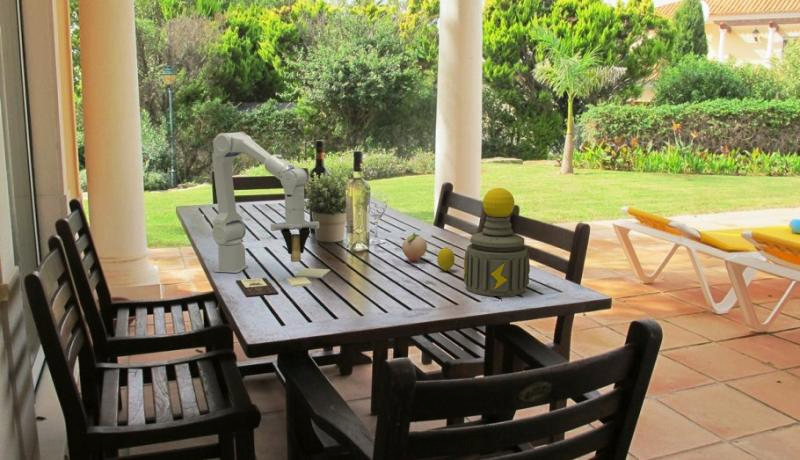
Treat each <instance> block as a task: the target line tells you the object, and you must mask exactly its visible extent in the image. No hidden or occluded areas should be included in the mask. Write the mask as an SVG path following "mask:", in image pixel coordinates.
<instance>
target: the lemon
mask: <svg viewBox="0 0 800 460" xmlns="http://www.w3.org/2000/svg"><path fill="white" fill-rule="evenodd" d="M436 260H437V265H438V266H439V268H440V269H442V270H443V271H444V272H448V270H450V269H451V268H452V267H453V266H454V265H455V253H454V252H453V250H452V249H451V248H450V247H447V246H445V247H444V248H441V249H440V250H439V252H438V253H437V259H436Z"/></svg>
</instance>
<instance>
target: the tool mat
mask: <svg viewBox="0 0 800 460" xmlns="http://www.w3.org/2000/svg"><path fill="white" fill-rule="evenodd" d="M329 272H331V269H329V268H328V269H327V268H309V267H308V268H307V267H306V268H305V267H303V268H301V269H300V270H299V271H298V272H296V273H295V274H294V275H293V278H297V277H306V278H308V279H309V278H311V279H313V278H314V279H323V278H324V277H325V276H326V275H327V274H328V273H329Z"/></svg>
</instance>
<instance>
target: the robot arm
mask: <svg viewBox="0 0 800 460" xmlns="http://www.w3.org/2000/svg"><path fill="white" fill-rule="evenodd" d="M212 145H213V146H212V147H213V153H212V157H211V158H212V167H213V173H214V174H213V177H214V185H215V191H216V192H215V193H216V202H217V203H216V204H217V208H218V209H217V210H218V211H217V212H218V214H217V215H216V216H215V217H214V220H213V222H212V223H213V225H212V226H213V227H212V230H211V231H212V232H211V235H212V238H213V240H214V241H215V243H216V245H217V250H218V251H217V254H218V267H217V268H215V269H214V270H213V272H214V273H231V274H232V273H233V274H238V273H241V271H243V270H245V269H246V268H249V265H248V264H246V247H245V245H244V244H243V238H245V236H246V233H247V229H246V226H245V224H244V221H243V217H242V215H240V214H239V213H238V212H237V207H236V205H237V204H236V197H235V188H234V180H233V179H234V178H233V170H232V162H233V161H234V160H235V159H236V158H237V156H239V155H241V154H243V153H246V154H248V156H251V158H254V159H255V160H257V161H259V162H260V163H261V164H263V165H264V169H265V171H267V172H268V173H269V174H270V175H272V176H273V177H275V178H276V179H277V180H279V181H280V184H281V186H282V188H283V193H284V207H285V208H284V209H285V210H284V211H285V215H284V217H285V222H278V223H277V222H276V223H270V231H271V232H275V231H277V232H278V231H280V233H281V235H282V238H283V239H284V242H285V244H286V250H287V254H289V255H291V254H292V249H291V235H292V234H293V233H292V232H291V230H295V231H296V230H298V234H300V235H301V238H300V243H301V254H304V250H305V246H306V242H307V240H308V237H309V236H310V233H311V230H310V229H317V230H318V229H320V221H319V220H318V221H306V219H305V218H306V217H305V186H306V184H308V180H309V176H308V173H307V171H305V169H303V167H301V166H299V167H295V164H293V163H290V162H289V161H286V160H285V159H284V158H283V157H284V156H283V155H281V154H276V153H275V154H270V153H269V152H268V151H266V150H265V148H262V146H260V145H259V144H257V142H255V141H254V140H253V139H252V137H251V136H250V135H248V134H246V132H244V131H238V132H221V133H219V134H217V135H216V136H215V138H214V139H213V141H212Z"/></svg>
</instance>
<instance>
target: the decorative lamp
mask: <svg viewBox="0 0 800 460" xmlns="http://www.w3.org/2000/svg"><path fill="white" fill-rule="evenodd" d="M482 208H483V211H484V212H485V214H486V220H485V222H484V227H483V228H482V232H477V233H476V234H473V235H471V236H470V239H469V242H470V243H471V244H469V245H467V247H466V251H465V252H464V259H463V261H464V262H463V283H464V285H465V288H466V289H467V290H468V291H469V292H470V293H473V294H476V295H479V296H484V295H485V296H484V297H493V296H498V297H497V298H500V297H499V296H508V297H514V296H513V295H516V296H519V295H522V294H524V292H526V289H527V287H528V286H529V284H530V271H531V267H530V253H529V252H528V248H527V247H526V246H525V237H523V236H522V235H519V234H517V233H514V231H513V228H512V222H510V221H511V218H510V215H512V213H513V211H514V208H515V198H514V195H513V194H512V193H511V192H510V190H507V189H505V188H504V187H503V188H501V187H495V188H491V189H490V190H488V191H487V192H486V194H484V198H483V199H482ZM518 294H519V295H518Z"/></svg>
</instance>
